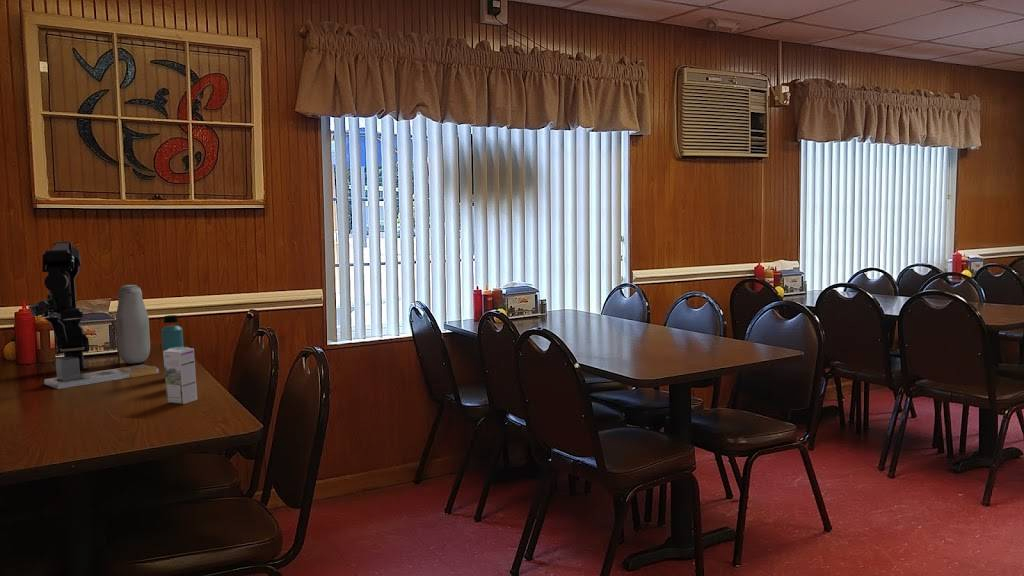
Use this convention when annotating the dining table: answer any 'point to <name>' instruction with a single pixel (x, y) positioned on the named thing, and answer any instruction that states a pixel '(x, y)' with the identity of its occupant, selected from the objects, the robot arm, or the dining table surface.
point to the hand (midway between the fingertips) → (63, 340)
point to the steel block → (67, 369)
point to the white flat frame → (104, 376)
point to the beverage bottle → (171, 334)
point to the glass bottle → (132, 325)
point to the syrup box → (180, 375)
